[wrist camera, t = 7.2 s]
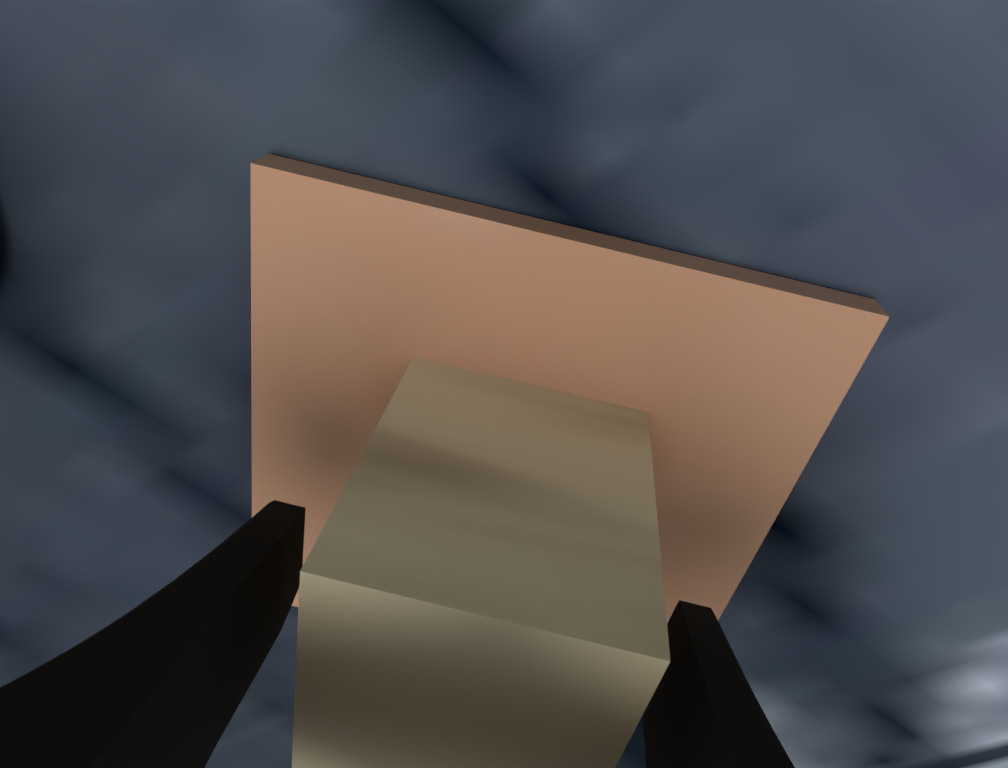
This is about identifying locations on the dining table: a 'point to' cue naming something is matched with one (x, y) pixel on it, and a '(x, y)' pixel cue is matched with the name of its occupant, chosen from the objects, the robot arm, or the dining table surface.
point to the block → (484, 584)
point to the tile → (538, 350)
